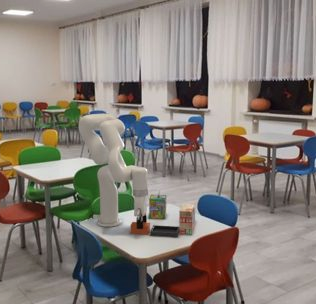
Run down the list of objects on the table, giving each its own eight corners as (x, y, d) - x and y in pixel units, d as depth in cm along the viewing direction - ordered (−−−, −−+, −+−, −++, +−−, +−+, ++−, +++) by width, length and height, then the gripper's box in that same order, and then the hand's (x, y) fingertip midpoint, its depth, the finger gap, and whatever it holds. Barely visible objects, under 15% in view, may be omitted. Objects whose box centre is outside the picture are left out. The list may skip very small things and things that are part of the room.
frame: (150, 235, 207) (150, 231, 207) (153, 229, 217) (153, 225, 216) (177, 237, 205) (177, 233, 204) (179, 230, 214) (179, 226, 214)
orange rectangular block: (130, 233, 210) (130, 225, 210) (132, 230, 215) (132, 221, 215) (148, 234, 209) (148, 226, 208) (150, 231, 214) (149, 222, 213)
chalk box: (150, 213, 241) (150, 188, 239) (166, 214, 240) (166, 189, 238) (148, 218, 232) (148, 192, 230) (165, 219, 231) (165, 193, 229)
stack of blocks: (183, 220, 230) (183, 198, 227) (195, 221, 228) (195, 199, 226) (179, 234, 209) (179, 210, 207) (191, 235, 208) (192, 211, 206)
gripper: (136, 188, 217) (137, 220, 220) (129, 196, 201) (130, 231, 203) (150, 188, 216) (151, 220, 218) (144, 196, 199) (146, 231, 202)
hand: (141, 225), depth 211 cm, fingers open, 9 cm apart
